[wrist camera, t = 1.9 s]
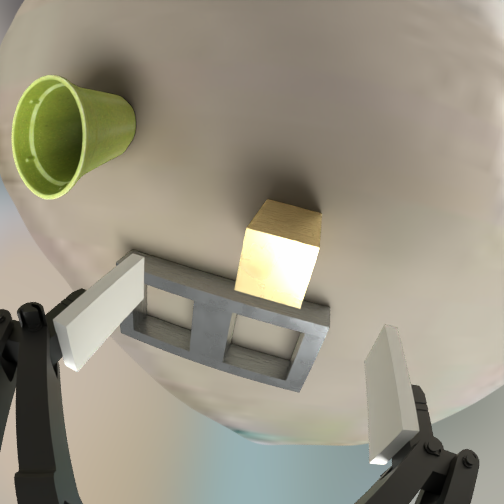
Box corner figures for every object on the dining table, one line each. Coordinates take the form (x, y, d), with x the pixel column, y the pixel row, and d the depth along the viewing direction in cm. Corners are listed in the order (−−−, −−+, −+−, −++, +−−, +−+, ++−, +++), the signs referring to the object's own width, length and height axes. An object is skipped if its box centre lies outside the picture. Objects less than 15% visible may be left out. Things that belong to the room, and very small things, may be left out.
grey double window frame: (132, 249, 30) (116, 262, 27) (330, 307, 28) (329, 327, 25) (134, 317, 34) (120, 332, 31) (302, 372, 32) (299, 392, 29)
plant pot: (83, 179, 28) (21, 204, 20) (72, 92, 24) (6, 97, 17) (157, 168, 26) (95, 194, 18) (147, 66, 22) (80, 56, 14)
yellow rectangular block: (267, 198, 25) (246, 228, 19) (321, 213, 24) (319, 248, 18) (256, 248, 27) (234, 289, 21) (307, 262, 26) (299, 308, 20)
